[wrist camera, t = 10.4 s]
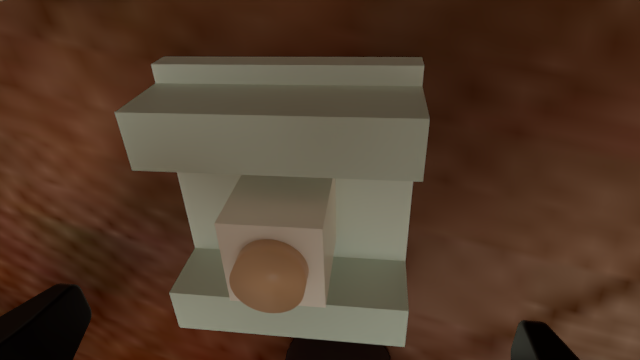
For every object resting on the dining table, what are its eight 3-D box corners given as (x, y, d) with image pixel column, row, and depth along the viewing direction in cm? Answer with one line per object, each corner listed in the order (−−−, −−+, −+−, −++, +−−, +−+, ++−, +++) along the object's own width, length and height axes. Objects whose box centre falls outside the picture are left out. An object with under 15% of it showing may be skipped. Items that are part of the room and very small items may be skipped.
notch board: (421, 57, 17) (432, 95, 13) (400, 289, 24) (403, 357, 20) (163, 56, 18) (107, 90, 15) (212, 276, 25) (182, 337, 21)
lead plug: (334, 166, 19) (318, 247, 14) (336, 237, 21) (322, 328, 16) (247, 163, 19) (204, 241, 15) (257, 233, 21) (222, 319, 17)
